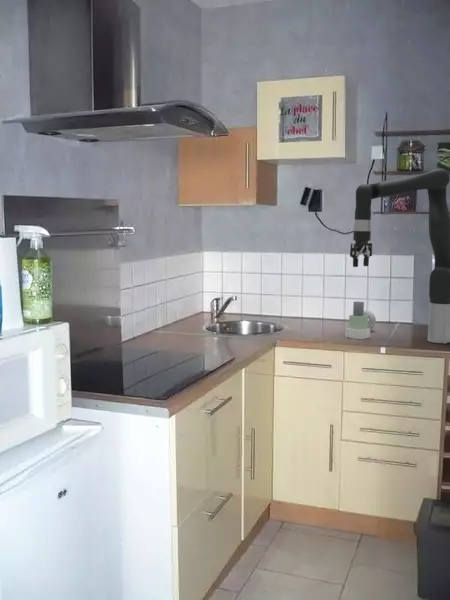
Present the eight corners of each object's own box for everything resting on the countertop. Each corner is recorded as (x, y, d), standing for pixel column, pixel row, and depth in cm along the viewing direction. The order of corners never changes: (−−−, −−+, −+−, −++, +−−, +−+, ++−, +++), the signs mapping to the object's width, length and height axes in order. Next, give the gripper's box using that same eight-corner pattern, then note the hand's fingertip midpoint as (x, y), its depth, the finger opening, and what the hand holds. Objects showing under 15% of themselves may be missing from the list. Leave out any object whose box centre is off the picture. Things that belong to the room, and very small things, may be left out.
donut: (376, 331, 311) (377, 310, 309) (372, 332, 308) (373, 311, 307) (358, 328, 318) (359, 308, 316) (354, 329, 315) (355, 309, 314)
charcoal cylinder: (365, 315, 294) (365, 302, 293) (359, 316, 291) (360, 303, 290) (356, 314, 297) (357, 301, 297) (351, 315, 294) (351, 302, 293)
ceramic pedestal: (370, 337, 295) (370, 328, 295) (360, 339, 290) (360, 330, 289) (355, 334, 301) (355, 326, 300) (345, 337, 295) (345, 328, 295)
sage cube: (367, 328, 295) (368, 315, 294) (360, 330, 291) (360, 316, 290) (356, 326, 299) (356, 313, 298) (348, 328, 295) (349, 315, 294)
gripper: (360, 230, 281) (359, 267, 283) (378, 230, 292) (376, 266, 294) (346, 229, 286) (344, 266, 289) (363, 229, 297) (362, 265, 299)
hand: (360, 266), depth 291 cm, fingers open, 8 cm apart
